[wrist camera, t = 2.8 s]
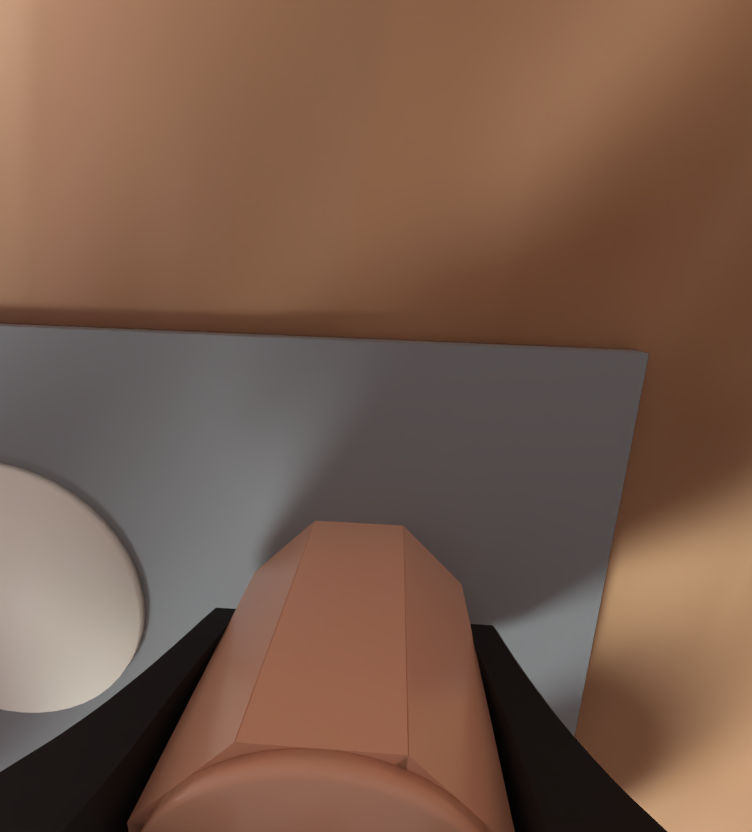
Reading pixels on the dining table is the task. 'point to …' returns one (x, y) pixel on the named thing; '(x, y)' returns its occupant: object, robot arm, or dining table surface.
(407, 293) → the dining table surface
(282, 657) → the tan piece
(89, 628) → the pad
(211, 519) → the mat
